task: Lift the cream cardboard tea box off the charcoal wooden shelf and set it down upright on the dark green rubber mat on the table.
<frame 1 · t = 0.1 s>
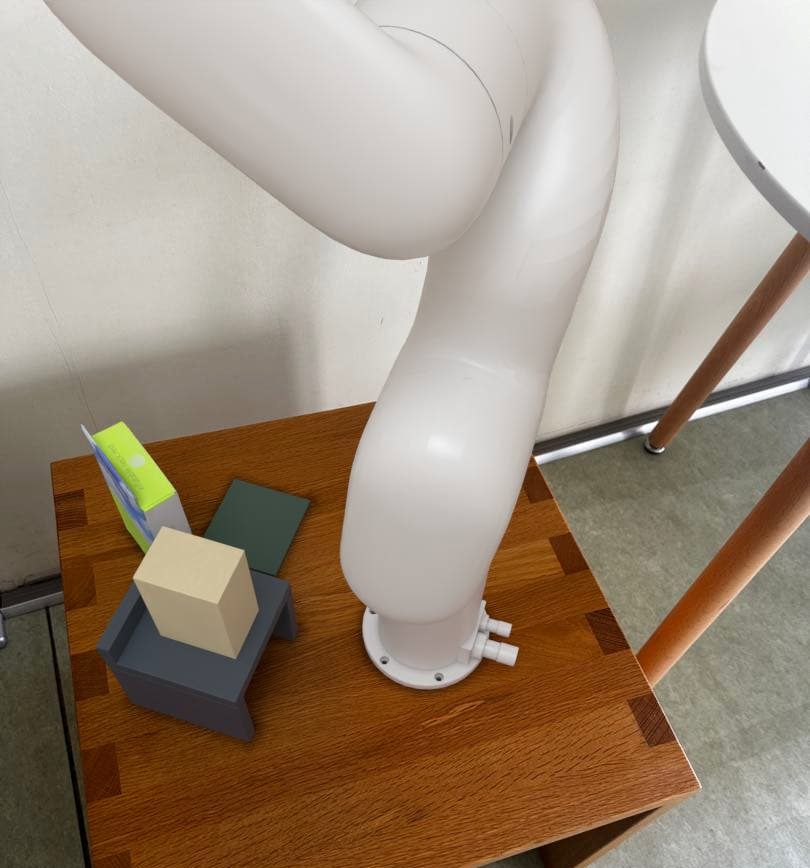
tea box: (210, 622, 72), point 10 cm above the table, touching shelf
box: (166, 554, 87), on the table
mat: (254, 527, 89), on the table
shelf: (217, 666, 81), on the table
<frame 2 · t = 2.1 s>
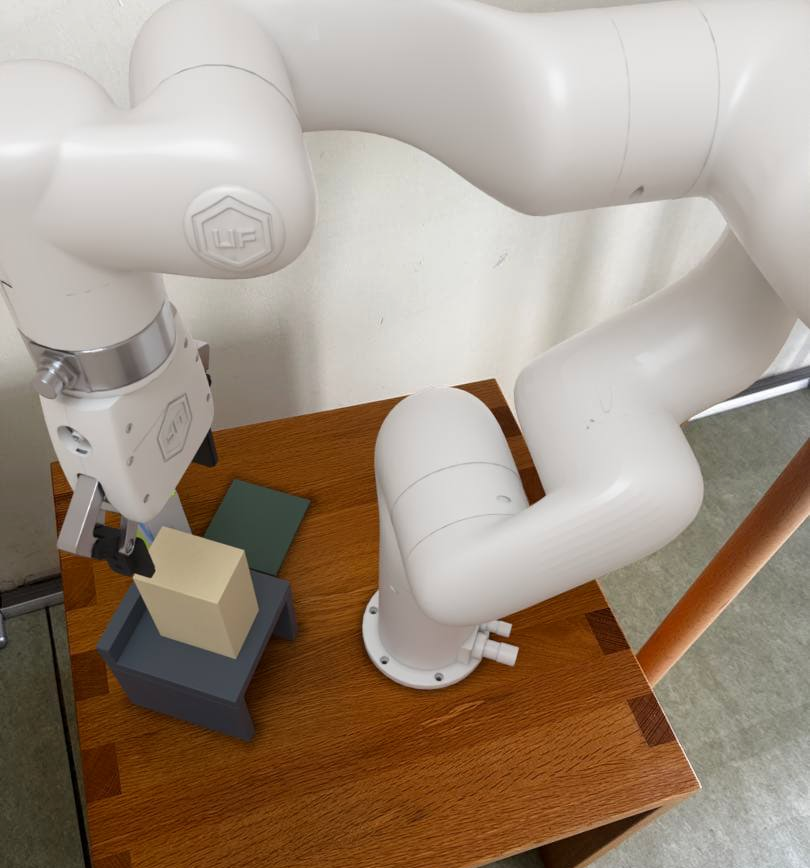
hand: (166, 511, 58), 27 cm above the table, tool pointing down, fingers open, 9 cm apart
nothing on the table moved.
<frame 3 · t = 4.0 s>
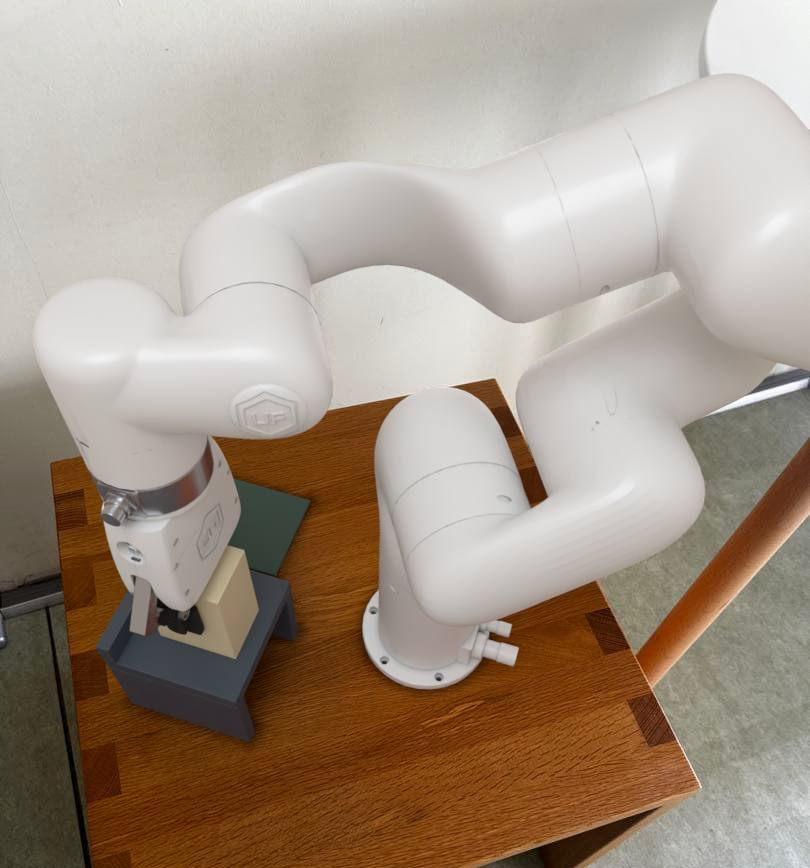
hand: (200, 596, 68), 15 cm above the table, tool pointing down, fingers closed on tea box, 5 cm apart
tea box: (210, 622, 72), point 10 cm above the table, touching gripper, shelf
everything else where it was.
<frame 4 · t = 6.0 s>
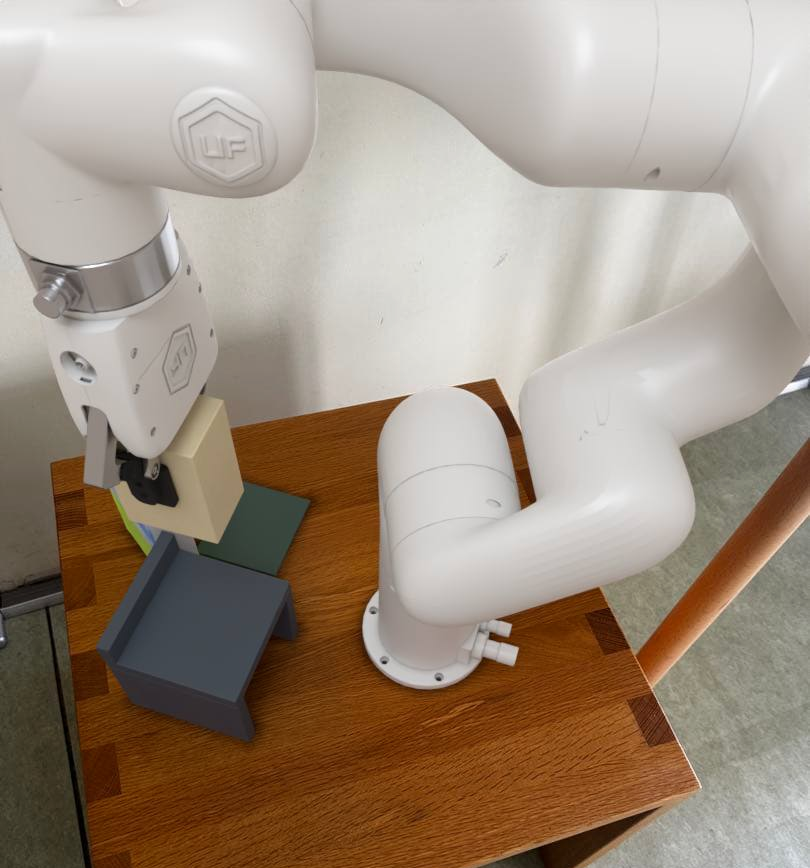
hand: (174, 465, 57), 29 cm above the table, tool pointing down, fingers closed on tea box, 5 cm apart
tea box: (187, 505, 61), point 24 cm above the table, touching gripper
everything else where it was.
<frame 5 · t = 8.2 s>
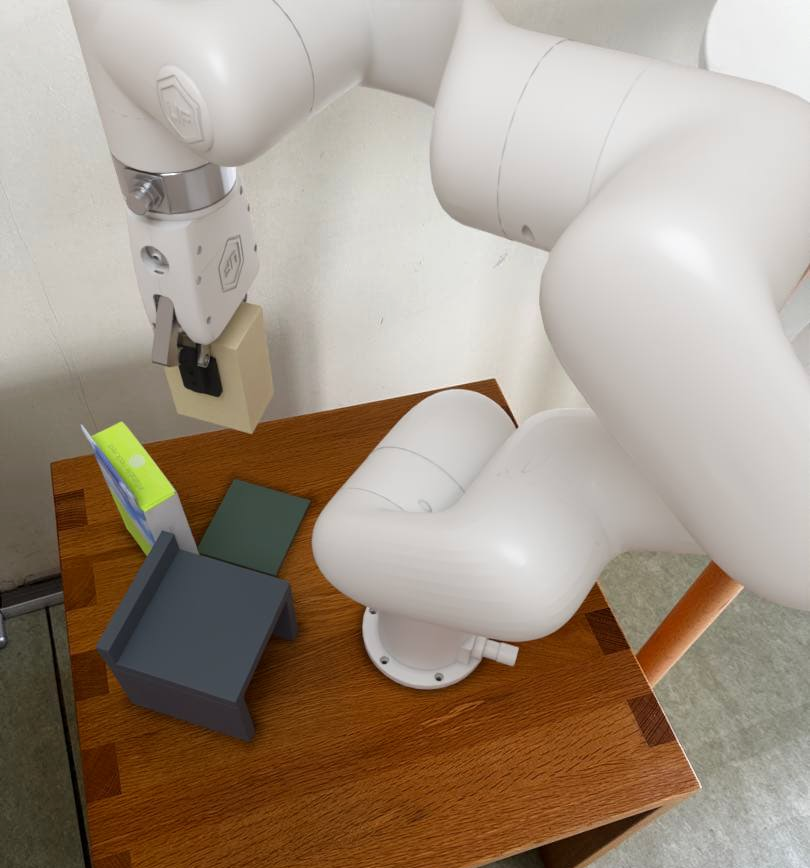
hand: (218, 364, 69), 24 cm above the table, tool pointing down, fingers closed on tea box, 5 cm apart
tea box: (226, 403, 73), point 20 cm above the table, touching gripper
everything else where it was.
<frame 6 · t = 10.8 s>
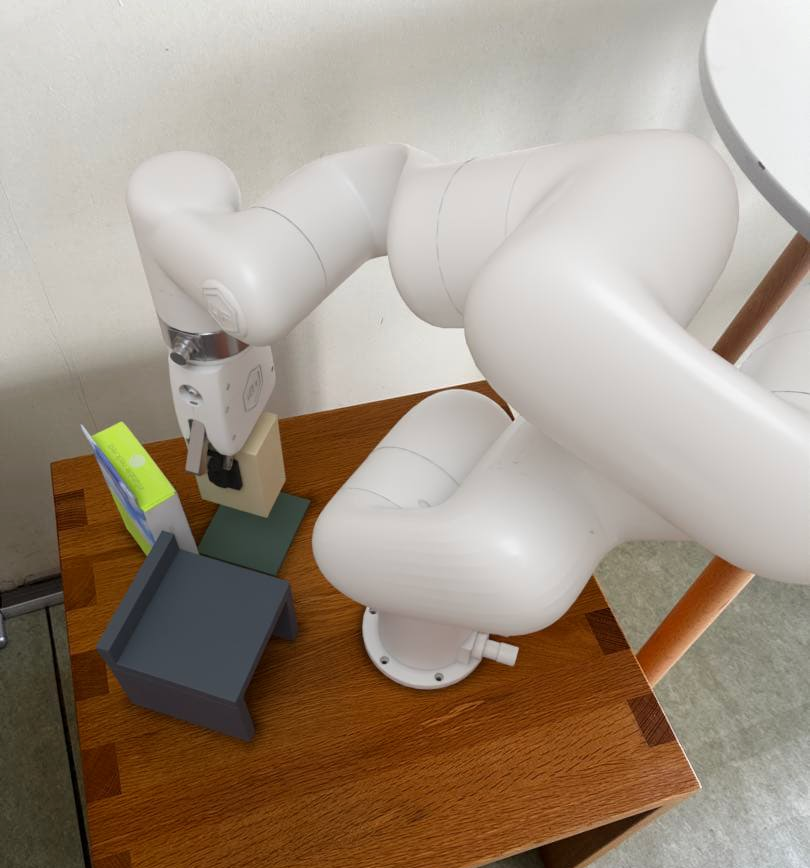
hand: (238, 460, 80), 12 cm above the table, tool pointing down, fingers closed on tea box, 5 cm apart
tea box: (244, 489, 84), point 7 cm above the table, touching gripper
everything else where it was.
when the fingers open (5 cm above the table, at t = 12.7 s): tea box stays where it is, resting on mat.
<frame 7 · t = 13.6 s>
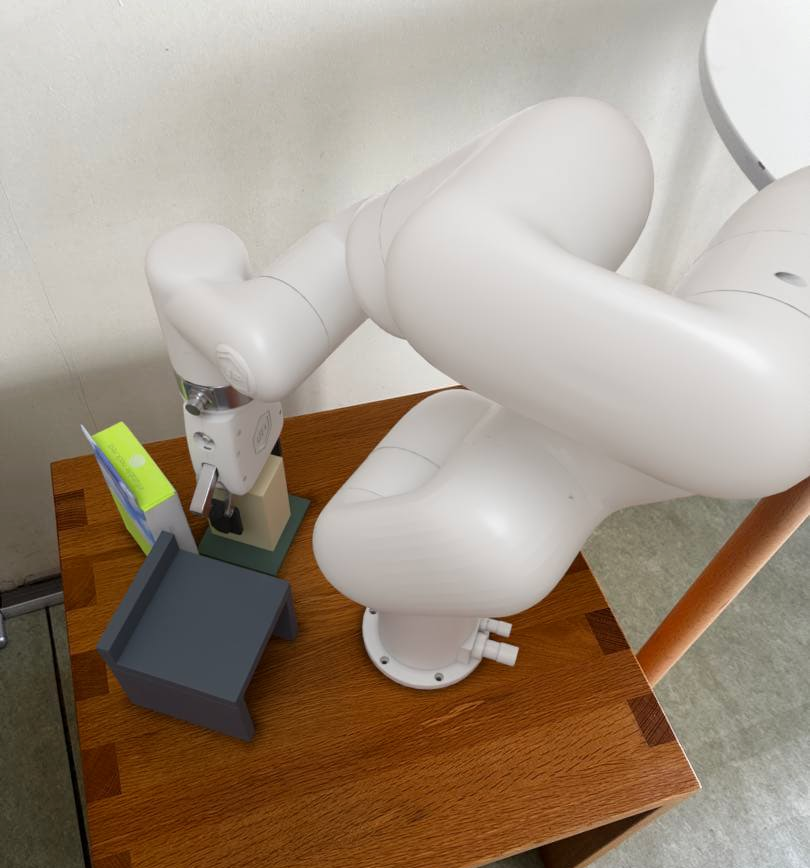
hand: (248, 490, 83), 7 cm above the table, tool pointing down, fingers open, 9 cm apart
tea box: (251, 524, 89), resting on mat
everything else where it was.
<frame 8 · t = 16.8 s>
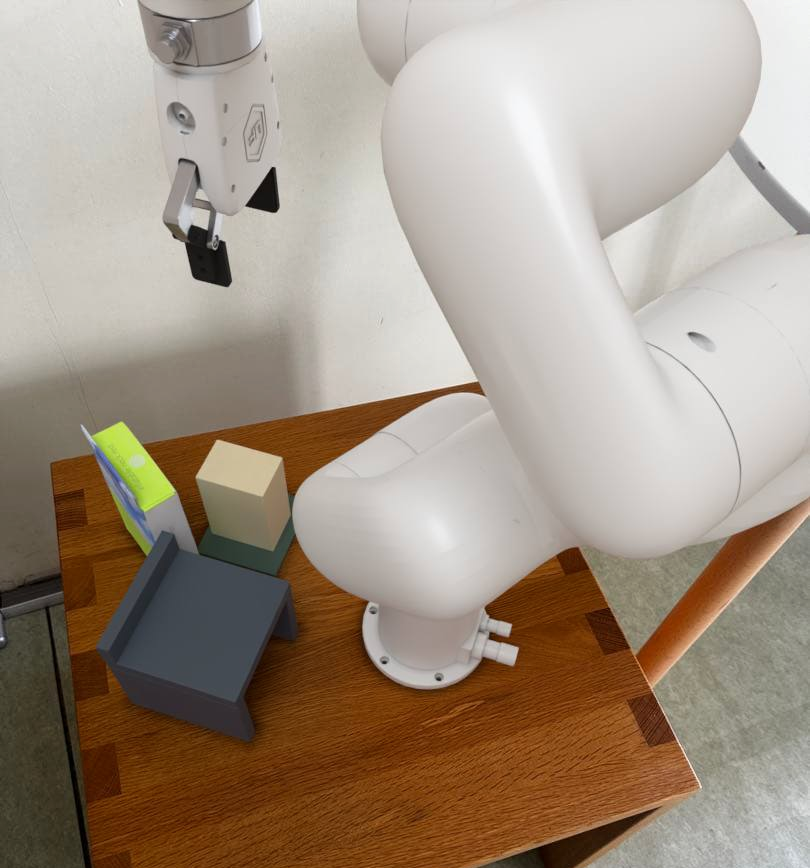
hand: (238, 243, 68), 30 cm above the table, tool pointing down, fingers open, 9 cm apart
nothing on the table moved.
at the end: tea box inside the target area on the mat (0.3 cm from its centre), point 0.4 cm above the mat's base; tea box tilted 0°; the gripper is holding nothing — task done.
